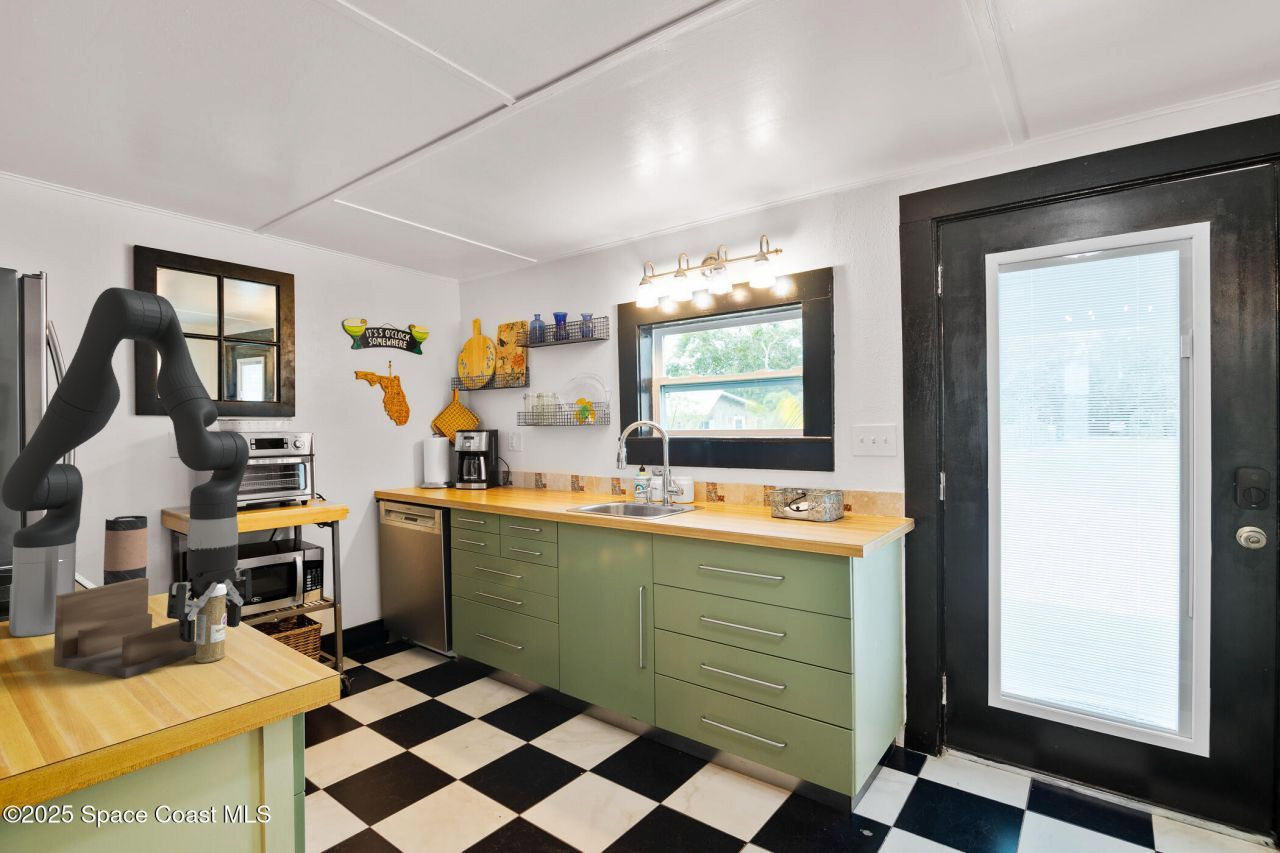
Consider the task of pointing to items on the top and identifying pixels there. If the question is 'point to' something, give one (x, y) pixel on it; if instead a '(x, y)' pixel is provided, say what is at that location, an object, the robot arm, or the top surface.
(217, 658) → the sprinkles bottle
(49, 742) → the top surface
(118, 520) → the travel mug
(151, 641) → the wooden tiered slot stand
